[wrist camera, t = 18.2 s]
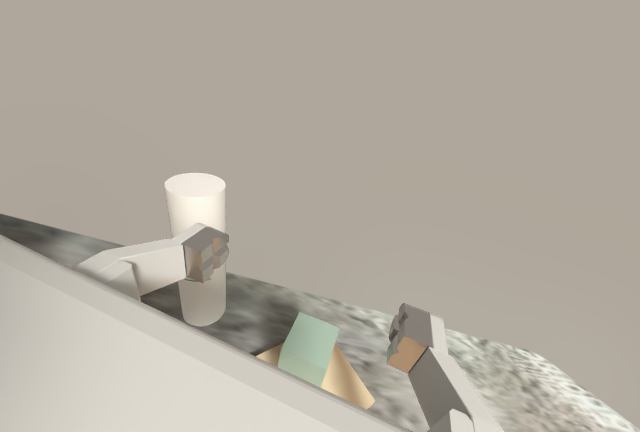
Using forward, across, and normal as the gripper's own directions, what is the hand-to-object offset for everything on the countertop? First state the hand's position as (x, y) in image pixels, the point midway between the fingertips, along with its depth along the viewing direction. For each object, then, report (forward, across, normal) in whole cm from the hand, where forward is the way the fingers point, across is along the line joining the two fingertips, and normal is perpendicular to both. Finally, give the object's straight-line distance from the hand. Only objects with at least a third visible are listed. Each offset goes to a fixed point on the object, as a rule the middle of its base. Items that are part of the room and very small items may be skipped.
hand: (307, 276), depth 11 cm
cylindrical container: (+16, +20, +34) cm, 42 cm away
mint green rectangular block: (+10, 0, +32) cm, 33 cm away
